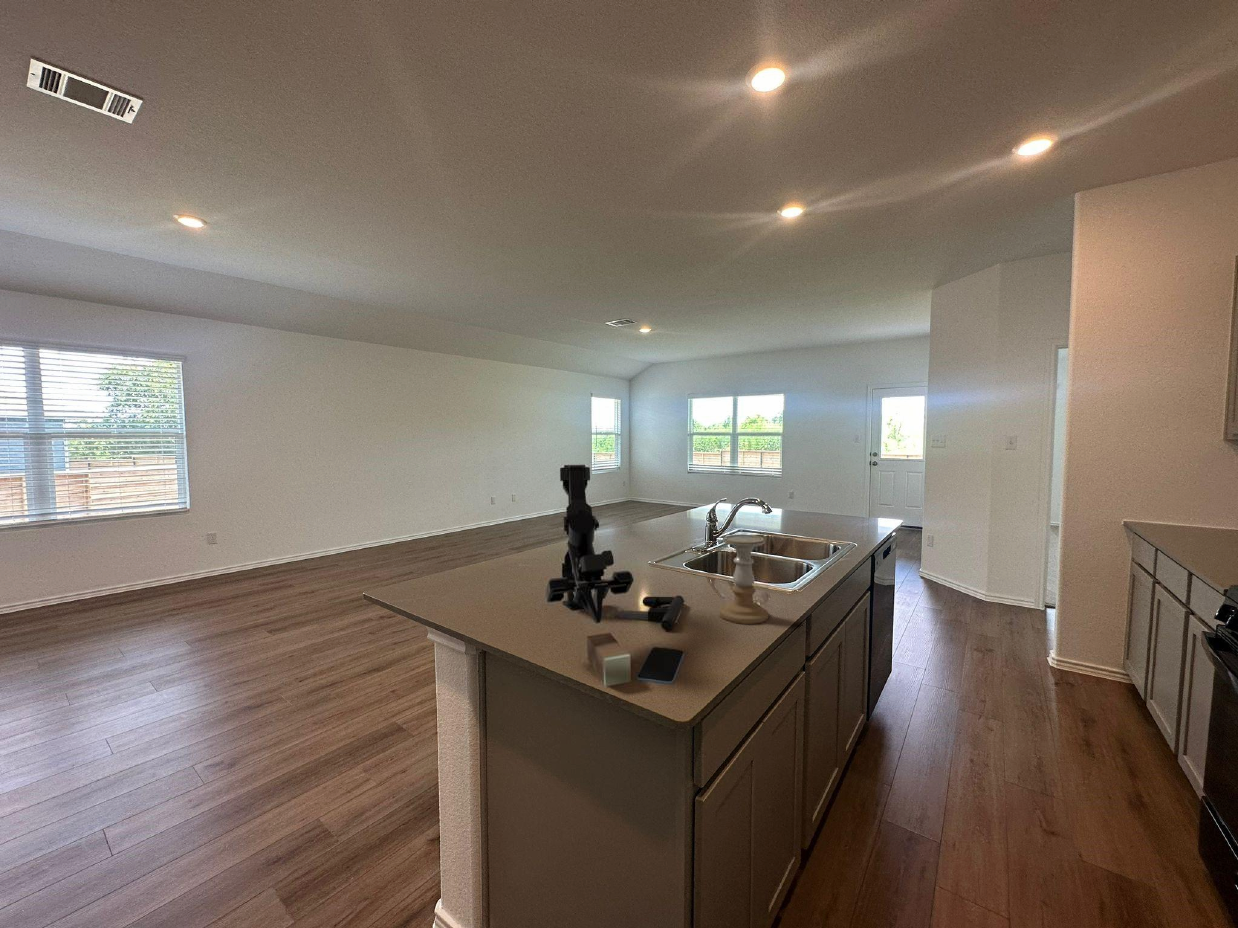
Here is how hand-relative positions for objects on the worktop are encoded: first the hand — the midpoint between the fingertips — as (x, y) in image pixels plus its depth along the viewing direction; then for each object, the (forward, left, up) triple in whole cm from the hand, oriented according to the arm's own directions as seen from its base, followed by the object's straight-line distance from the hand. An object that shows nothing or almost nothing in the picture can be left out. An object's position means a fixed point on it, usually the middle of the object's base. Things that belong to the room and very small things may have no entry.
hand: (598, 622), depth 105 cm
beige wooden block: (0, 0, -5) cm, 5 cm away
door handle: (-16, +24, -8) cm, 30 cm away
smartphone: (+9, +10, -8) cm, 16 cm away
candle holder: (-3, +44, -8) cm, 44 cm away
